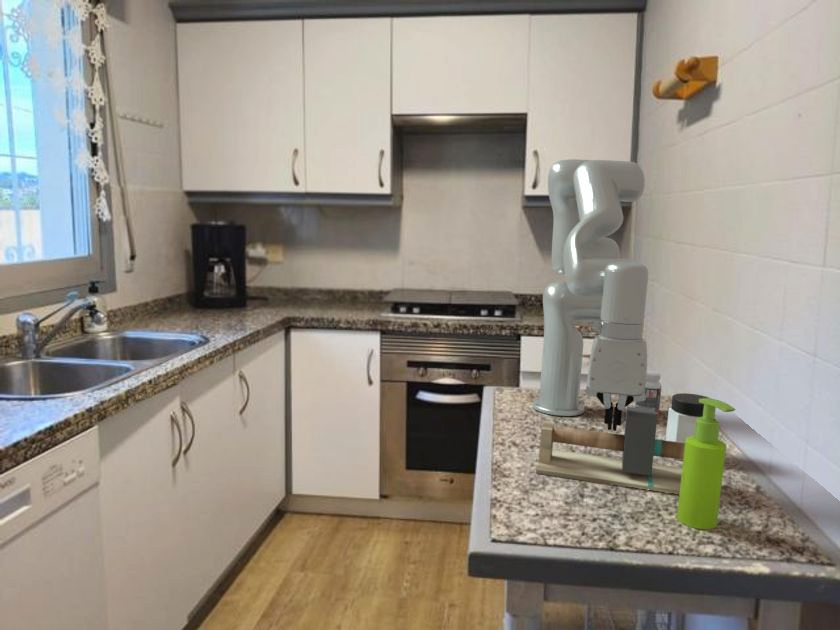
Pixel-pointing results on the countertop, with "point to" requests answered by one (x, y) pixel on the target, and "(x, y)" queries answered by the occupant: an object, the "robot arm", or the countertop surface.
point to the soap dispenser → (703, 470)
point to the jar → (683, 416)
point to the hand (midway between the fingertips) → (612, 428)
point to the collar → (639, 441)
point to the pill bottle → (651, 393)
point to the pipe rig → (605, 460)
